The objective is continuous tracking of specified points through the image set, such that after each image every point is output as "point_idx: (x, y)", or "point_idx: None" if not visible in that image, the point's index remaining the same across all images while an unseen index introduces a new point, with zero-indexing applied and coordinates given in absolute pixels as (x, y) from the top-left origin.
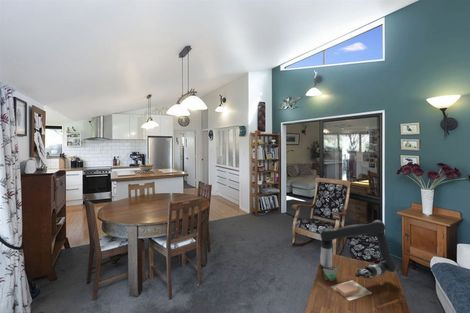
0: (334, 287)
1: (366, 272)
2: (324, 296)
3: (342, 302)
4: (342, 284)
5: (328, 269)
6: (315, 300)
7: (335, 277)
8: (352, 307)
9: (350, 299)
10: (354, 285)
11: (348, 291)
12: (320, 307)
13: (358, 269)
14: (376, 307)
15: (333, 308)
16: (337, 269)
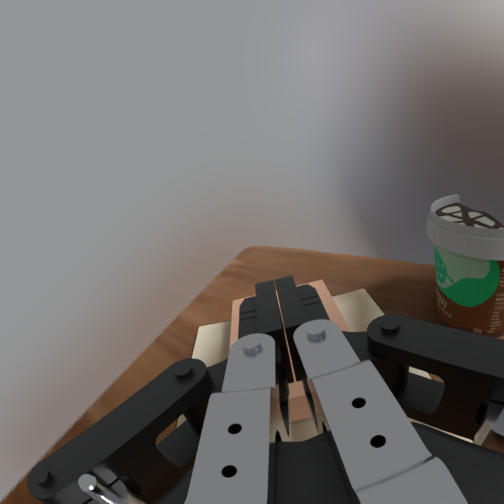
0: (351, 301)
1: (197, 486)
2: (293, 272)
3: (221, 312)
4: (337, 313)
5: (459, 212)
6: (279, 253)
7: (452, 296)
8: (168, 332)
9: (203, 335)
10: (296, 391)
11: (237, 319)
12: (238, 259)
13: (467, 348)
14: (81, 424)
15: (211, 282)
16: (482, 238)
